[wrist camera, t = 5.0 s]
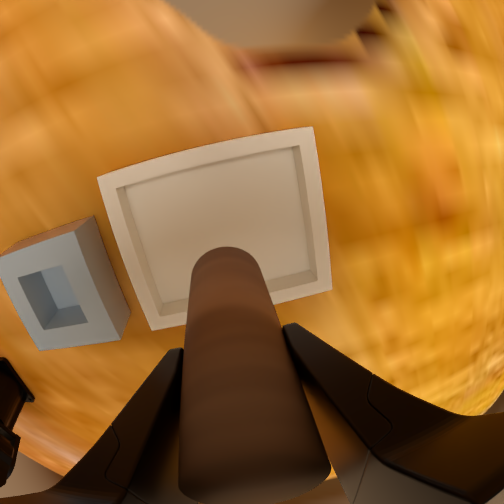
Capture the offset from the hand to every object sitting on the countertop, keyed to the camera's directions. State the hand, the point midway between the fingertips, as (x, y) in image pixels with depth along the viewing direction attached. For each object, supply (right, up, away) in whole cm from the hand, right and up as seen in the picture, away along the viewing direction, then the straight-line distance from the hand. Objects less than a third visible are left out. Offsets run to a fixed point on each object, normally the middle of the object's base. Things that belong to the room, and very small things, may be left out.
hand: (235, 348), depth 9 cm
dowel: (-1, +2, +4) cm, 4 cm away
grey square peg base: (-14, +1, +11) cm, 18 cm away
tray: (-2, +5, +11) cm, 12 cm away
